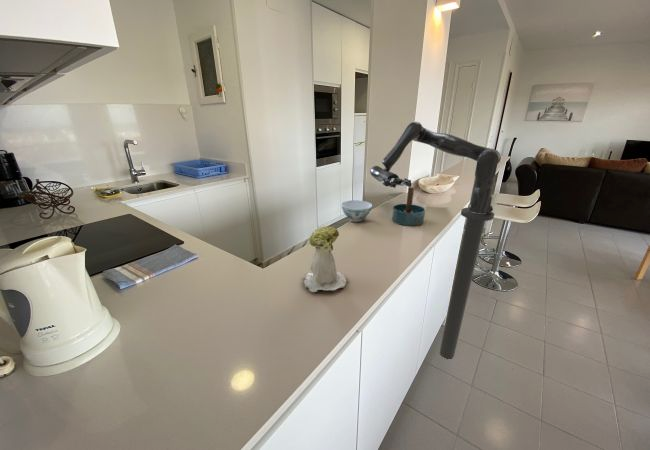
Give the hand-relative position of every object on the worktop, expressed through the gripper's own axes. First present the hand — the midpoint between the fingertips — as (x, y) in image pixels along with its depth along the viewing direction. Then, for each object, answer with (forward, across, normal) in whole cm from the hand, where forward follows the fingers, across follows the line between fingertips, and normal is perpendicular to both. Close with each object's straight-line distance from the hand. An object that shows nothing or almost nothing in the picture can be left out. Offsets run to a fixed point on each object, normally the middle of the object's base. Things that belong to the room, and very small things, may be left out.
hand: (402, 185), depth 141 cm
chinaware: (+3, -26, +16) cm, 30 cm away
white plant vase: (+56, -52, +16) cm, 78 cm away
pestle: (+10, -1, +15) cm, 18 cm away
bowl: (+10, -1, +15) cm, 19 cm away
